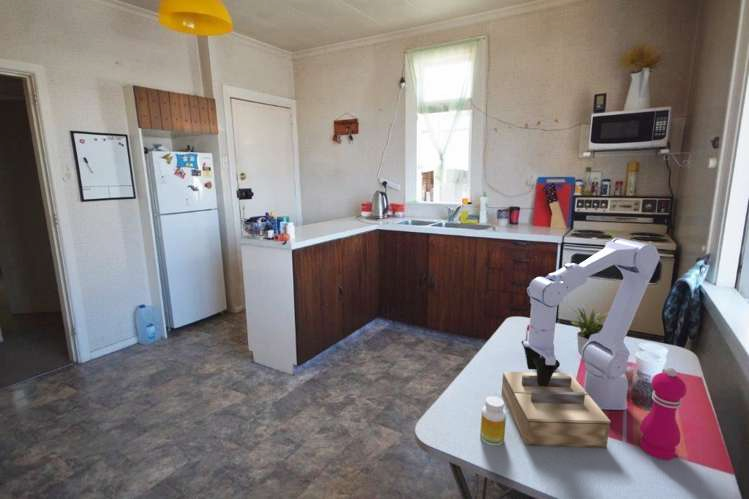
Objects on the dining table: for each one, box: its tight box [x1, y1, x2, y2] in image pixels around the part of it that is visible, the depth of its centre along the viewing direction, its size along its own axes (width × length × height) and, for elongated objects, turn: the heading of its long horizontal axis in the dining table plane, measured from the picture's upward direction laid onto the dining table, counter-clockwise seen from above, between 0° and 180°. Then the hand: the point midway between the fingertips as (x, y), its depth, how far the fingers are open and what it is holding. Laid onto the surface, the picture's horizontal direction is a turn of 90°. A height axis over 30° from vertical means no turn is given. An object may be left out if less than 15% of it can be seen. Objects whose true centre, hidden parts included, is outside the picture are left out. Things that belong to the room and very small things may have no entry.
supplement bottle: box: [479, 396, 507, 447], centre depth 90 cm, size 5×5×10 cm
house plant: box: [568, 306, 609, 354], centre depth 130 cm, size 14×14×16 cm
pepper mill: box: [639, 367, 687, 460], centre depth 85 cm, size 7×7×20 cm
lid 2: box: [515, 391, 611, 424], centre depth 91 cm, size 18×10×3 cm, turn 87°
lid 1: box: [502, 371, 588, 395], centre depth 101 cm, size 18×10×3 cm, turn 87°
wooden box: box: [501, 374, 611, 449], centre depth 97 cm, size 18×20×6 cm
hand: (537, 376), depth 98 cm, fingers open, 7 cm apart
